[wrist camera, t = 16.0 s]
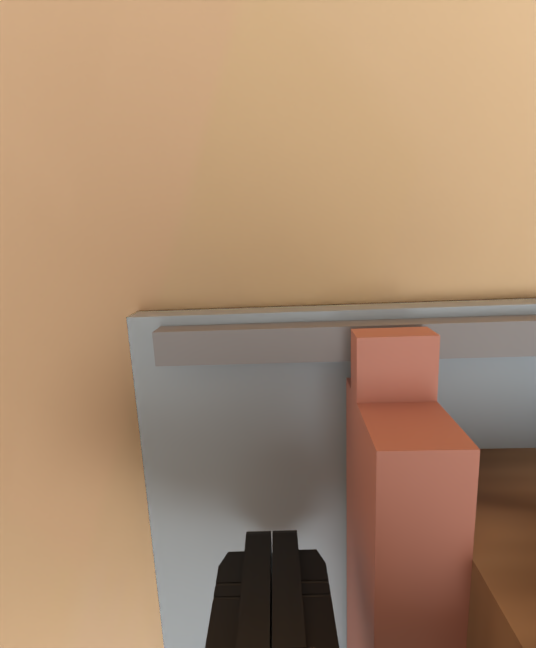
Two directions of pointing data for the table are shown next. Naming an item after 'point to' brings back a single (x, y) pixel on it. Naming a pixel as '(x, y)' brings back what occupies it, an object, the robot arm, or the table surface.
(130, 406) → the table surface
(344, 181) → the table surface
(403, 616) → the bar
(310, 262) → the table surface
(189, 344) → the vise base
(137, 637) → the table surface
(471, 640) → the walnut block
